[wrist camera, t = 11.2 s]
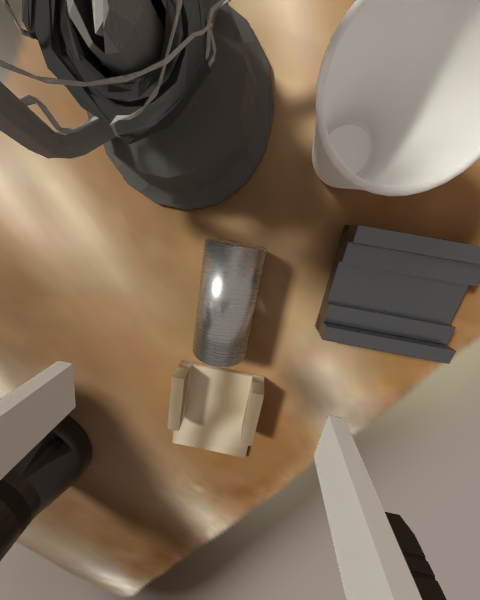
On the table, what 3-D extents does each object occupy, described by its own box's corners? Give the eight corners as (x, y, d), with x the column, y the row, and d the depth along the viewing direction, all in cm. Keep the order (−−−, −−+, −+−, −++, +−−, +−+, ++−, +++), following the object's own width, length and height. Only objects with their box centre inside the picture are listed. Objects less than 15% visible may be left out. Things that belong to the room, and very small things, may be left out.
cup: (383, 212, 23) (484, 202, 13) (284, 205, 24) (302, 189, 13) (414, 91, 20) (579, -54, 10) (299, 86, 21) (337, -55, 10)
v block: (315, 325, 27) (322, 339, 24) (344, 225, 24) (358, 225, 21) (426, 346, 27) (449, 363, 24) (473, 247, 23) (508, 251, 20)
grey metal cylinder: (205, 333, 30) (182, 356, 24) (217, 237, 26) (194, 239, 20) (250, 345, 29) (237, 373, 23) (270, 247, 25) (260, 252, 19)
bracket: (173, 439, 35) (164, 462, 32) (181, 360, 31) (171, 376, 27) (245, 454, 35) (243, 478, 31) (264, 376, 30) (264, 395, 27)
